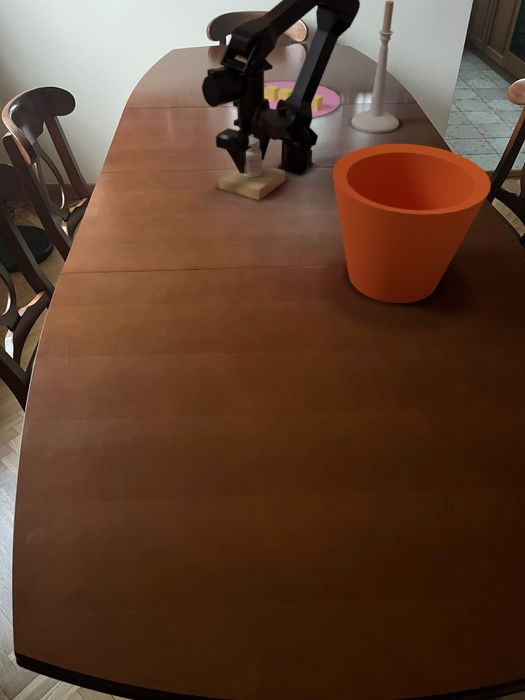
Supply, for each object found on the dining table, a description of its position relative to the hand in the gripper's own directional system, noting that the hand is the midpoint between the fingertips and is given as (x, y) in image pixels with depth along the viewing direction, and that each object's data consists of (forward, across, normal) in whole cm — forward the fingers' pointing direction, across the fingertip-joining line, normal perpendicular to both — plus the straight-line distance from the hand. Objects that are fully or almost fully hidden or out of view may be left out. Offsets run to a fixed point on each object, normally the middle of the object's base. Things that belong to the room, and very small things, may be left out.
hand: (251, 166), depth 133 cm
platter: (+5, +51, +21) cm, 55 cm away
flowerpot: (+5, -17, -42) cm, 46 cm away
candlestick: (+5, +48, -9) cm, 49 cm away
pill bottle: (+2, 0, 0) cm, 2 cm away
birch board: (+4, 0, 0) cm, 4 cm away
